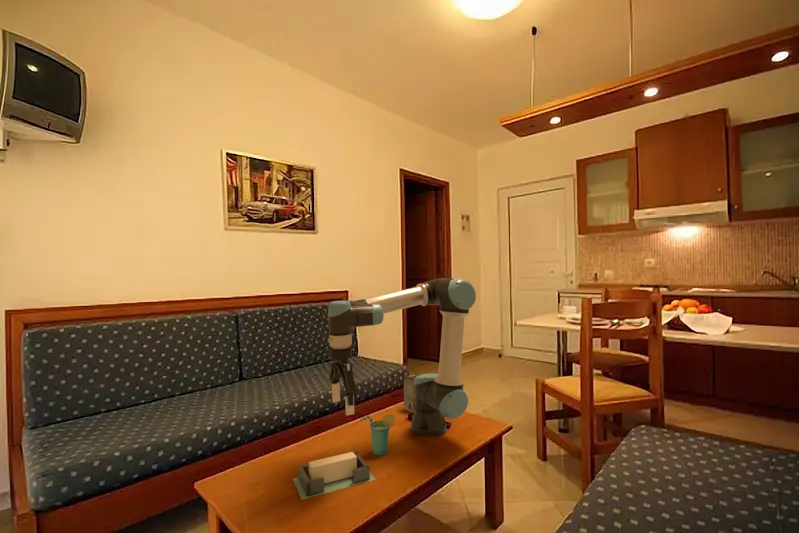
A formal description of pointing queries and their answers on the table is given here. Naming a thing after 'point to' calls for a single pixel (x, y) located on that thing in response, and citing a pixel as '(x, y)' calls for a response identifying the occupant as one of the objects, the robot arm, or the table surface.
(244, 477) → the table surface
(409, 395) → the coffee box
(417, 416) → the robot arm
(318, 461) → the slat
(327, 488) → the mat
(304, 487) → the cap
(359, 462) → the grey u-shaped bracket
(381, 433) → the cup
